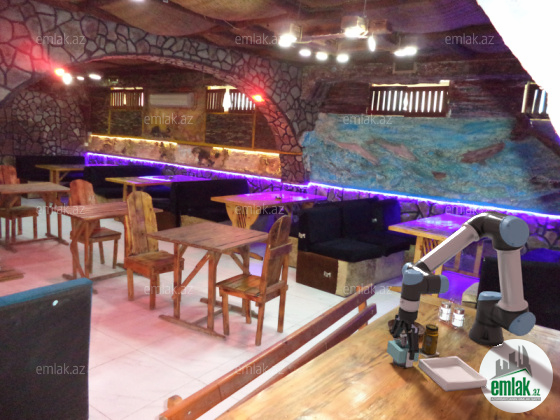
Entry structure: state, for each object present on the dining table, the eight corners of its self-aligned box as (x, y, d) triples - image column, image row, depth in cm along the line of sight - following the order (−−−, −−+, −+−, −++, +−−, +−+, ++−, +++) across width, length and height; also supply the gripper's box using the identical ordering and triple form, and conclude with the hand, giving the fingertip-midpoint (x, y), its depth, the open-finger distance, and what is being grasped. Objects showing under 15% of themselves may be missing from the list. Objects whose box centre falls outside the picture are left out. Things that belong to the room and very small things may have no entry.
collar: (405, 350, 187) (407, 339, 186) (417, 361, 179) (419, 349, 178) (386, 352, 184) (388, 340, 184) (398, 363, 176) (399, 351, 175)
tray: (455, 362, 186) (456, 356, 186) (486, 387, 169) (487, 379, 169) (418, 366, 181) (419, 359, 180) (445, 391, 164) (447, 384, 163)
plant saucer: (381, 332, 210) (382, 326, 209) (393, 320, 225) (393, 315, 224) (419, 344, 201) (420, 338, 200) (428, 331, 216) (429, 325, 215)
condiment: (440, 354, 193) (443, 328, 191) (427, 358, 188) (431, 331, 186) (426, 346, 199) (430, 321, 197) (413, 350, 194) (417, 324, 192)
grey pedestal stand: (404, 358, 186) (408, 329, 184) (413, 367, 180) (417, 337, 177) (389, 359, 184) (393, 330, 182) (398, 368, 178) (402, 338, 175)
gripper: (386, 297, 187) (379, 346, 191) (416, 320, 166) (409, 375, 170) (401, 297, 190) (395, 345, 193) (433, 319, 168) (425, 373, 172)
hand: (401, 359), depth 182 cm, fingers open, 10 cm apart
